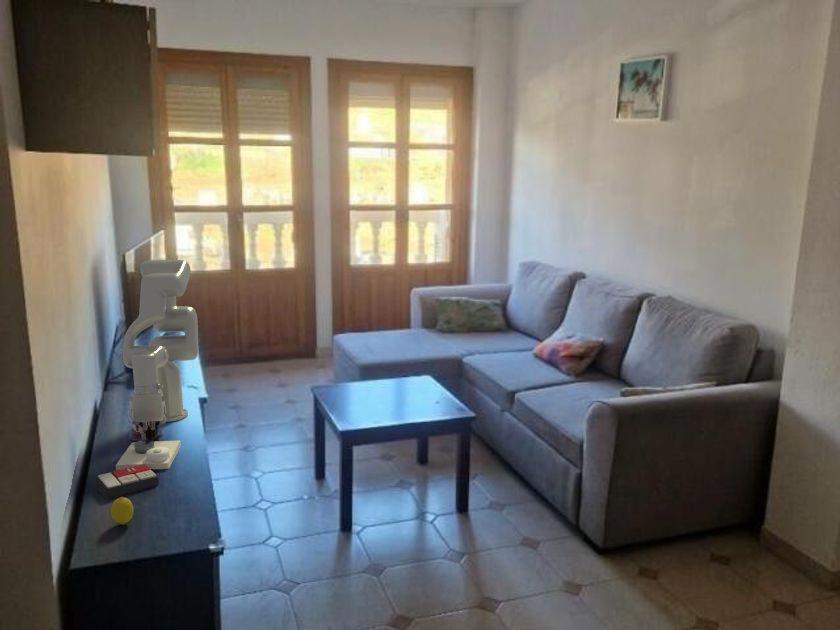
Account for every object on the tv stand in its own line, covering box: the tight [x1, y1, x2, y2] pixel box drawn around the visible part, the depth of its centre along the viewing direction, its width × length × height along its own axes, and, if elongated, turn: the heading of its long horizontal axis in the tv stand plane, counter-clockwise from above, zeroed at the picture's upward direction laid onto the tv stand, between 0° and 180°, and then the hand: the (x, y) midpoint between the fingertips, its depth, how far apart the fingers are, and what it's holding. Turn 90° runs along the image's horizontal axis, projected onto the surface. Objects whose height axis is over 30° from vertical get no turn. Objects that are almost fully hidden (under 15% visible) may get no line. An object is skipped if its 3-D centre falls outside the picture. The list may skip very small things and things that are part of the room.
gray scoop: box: [134, 432, 155, 454], centre depth 232 cm, size 13×6×2 cm, turn 23°
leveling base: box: [115, 440, 182, 471], centre depth 228 cm, size 18×16×5 cm
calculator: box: [95, 464, 160, 501], centre depth 209 cm, size 11×4×15 cm
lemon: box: [110, 496, 134, 526], centre depth 186 cm, size 6×6×8 cm
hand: (151, 439), depth 235 cm, fingers closed
